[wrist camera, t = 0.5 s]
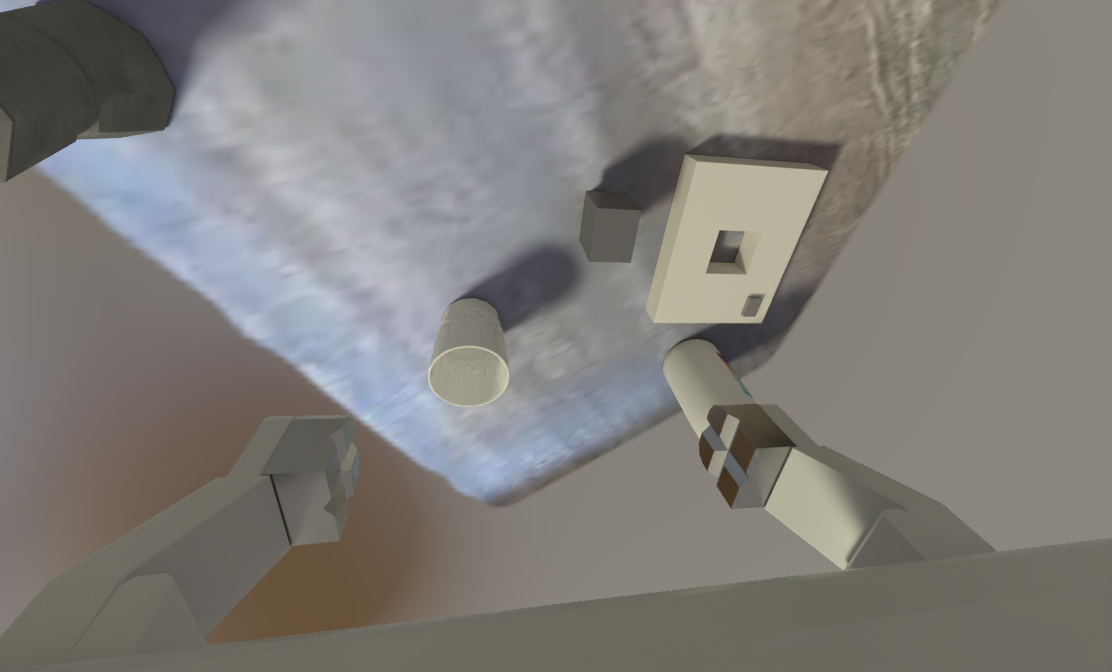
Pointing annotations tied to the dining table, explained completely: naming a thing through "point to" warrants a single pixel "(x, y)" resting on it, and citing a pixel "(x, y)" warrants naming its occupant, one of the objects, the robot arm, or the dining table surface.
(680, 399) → the milk bottle
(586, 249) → the plug
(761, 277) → the socket
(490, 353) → the white cup
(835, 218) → the dining table surface
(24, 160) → the coffeepot
